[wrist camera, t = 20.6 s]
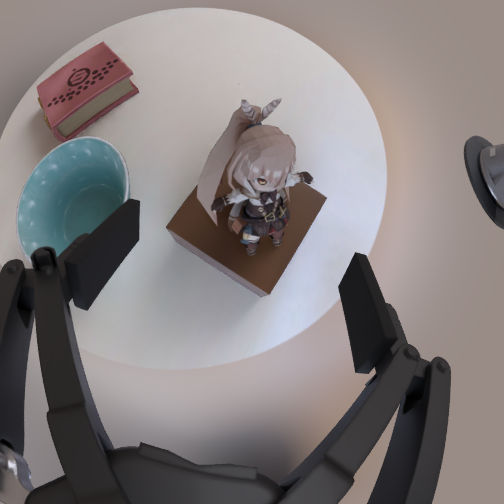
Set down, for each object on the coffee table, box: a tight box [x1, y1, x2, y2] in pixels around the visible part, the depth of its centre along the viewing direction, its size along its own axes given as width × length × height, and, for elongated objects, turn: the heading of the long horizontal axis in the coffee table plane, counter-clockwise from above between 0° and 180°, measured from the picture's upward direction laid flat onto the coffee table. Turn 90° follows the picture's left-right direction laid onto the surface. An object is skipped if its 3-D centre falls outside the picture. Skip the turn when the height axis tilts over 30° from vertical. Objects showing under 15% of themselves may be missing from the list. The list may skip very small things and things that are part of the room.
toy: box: [197, 99, 314, 255], centre depth 21 cm, size 9×8×15 cm
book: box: [37, 42, 139, 143], centre depth 33 cm, size 14×15×5 cm
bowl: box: [16, 136, 130, 264], centre depth 28 cm, size 16×16×8 cm
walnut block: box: [166, 150, 327, 297], centre depth 31 cm, size 12×12×6 cm
